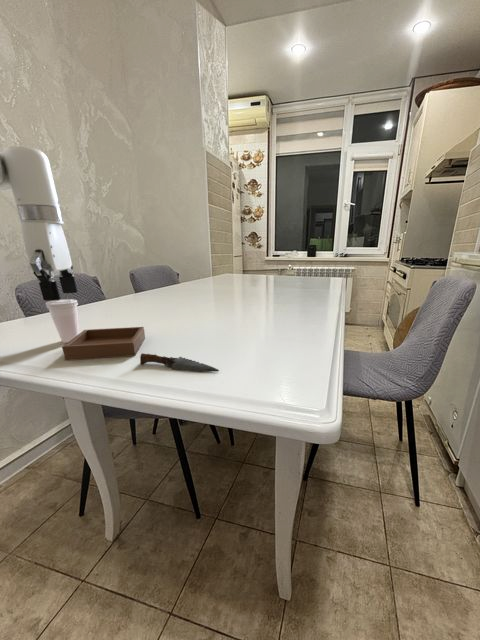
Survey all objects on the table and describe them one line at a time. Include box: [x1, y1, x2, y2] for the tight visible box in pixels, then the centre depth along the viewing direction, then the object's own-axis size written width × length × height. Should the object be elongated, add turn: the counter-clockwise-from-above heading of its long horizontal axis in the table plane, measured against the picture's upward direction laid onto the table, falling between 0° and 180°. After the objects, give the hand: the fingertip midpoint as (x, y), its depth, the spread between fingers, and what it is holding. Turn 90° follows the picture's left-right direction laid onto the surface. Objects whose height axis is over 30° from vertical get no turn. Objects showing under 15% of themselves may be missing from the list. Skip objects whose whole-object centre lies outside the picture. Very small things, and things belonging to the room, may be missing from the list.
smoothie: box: [45, 298, 80, 344], centre depth 69 cm, size 6×6×14 cm
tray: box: [61, 326, 146, 361], centre depth 66 cm, size 14×13×3 cm
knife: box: [139, 352, 220, 373], centre depth 56 cm, size 17×2×5 cm
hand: (62, 296), depth 68 cm, fingers open, 9 cm apart
